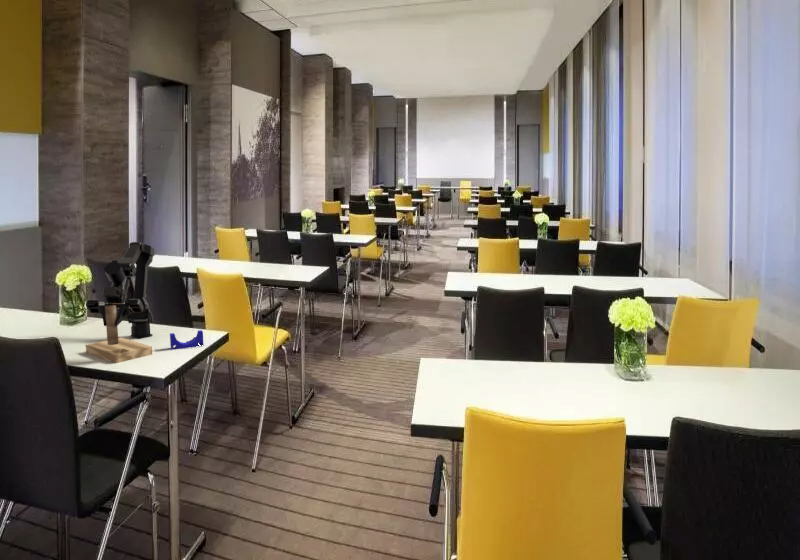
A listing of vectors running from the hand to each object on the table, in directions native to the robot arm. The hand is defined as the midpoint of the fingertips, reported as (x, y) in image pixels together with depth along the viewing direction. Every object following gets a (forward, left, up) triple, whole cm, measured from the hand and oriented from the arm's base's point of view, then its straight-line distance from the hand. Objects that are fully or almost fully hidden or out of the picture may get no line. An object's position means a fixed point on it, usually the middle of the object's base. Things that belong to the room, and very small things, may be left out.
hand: (110, 325), depth 209 cm
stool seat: (-6, -7, -13) cm, 16 cm away
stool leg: (-1, -1, -7) cm, 7 cm away
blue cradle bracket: (-28, +5, -13) cm, 31 cm away
